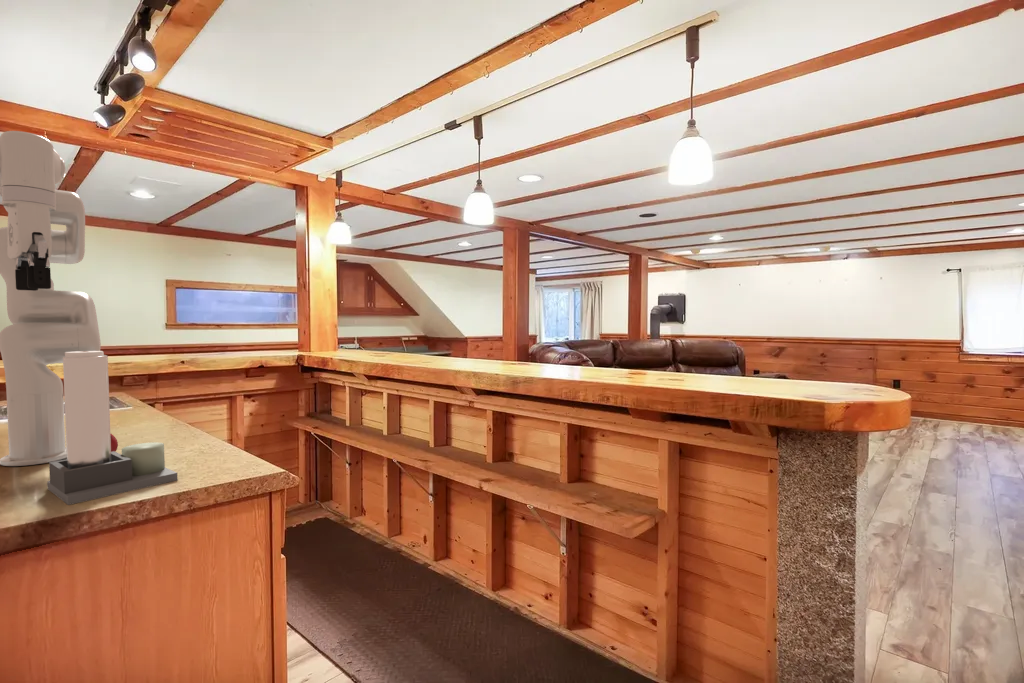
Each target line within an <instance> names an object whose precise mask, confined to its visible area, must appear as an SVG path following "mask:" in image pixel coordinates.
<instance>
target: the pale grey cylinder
mask: <svg viewBox="0 0 1024 683" xmlns="http://www.w3.org/2000/svg"><path fill="white" fill-rule="evenodd" d="M62 366H63V367H62V368H63V398H64V424H65V447H66V450H67V458H66V459H67V468H68V469H69V470H70V469H75V468H81V467H86V466H92V465H97V464H102V463H108V462H111V437H110V433H111V417H110V415H111V413H110V383H109V381H110V380H109V355H106V354H104V351H103V350H100V351H75V352H65V357H63V363H62Z"/></svg>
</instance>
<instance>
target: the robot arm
mask: <svg viewBox="0 0 1024 683" xmlns="http://www.w3.org/2000/svg"><path fill="white" fill-rule="evenodd" d="M65 176H66V163H65V160H64V158H62V157H61V155H60V154H59V153H58V152H57V151H56V150H55V149H54V146H53V143H52V142H51V141H50V140H49V139H48V138H46V137H44V136H42V135H40V134H39V135H38V134H35V133H31V132H27V131H21V130H20V131H19V130H7V131H4V132H2V133H1V134H0V197H1V201H2V202H1V203H2V204H1V205H2V206H3V208H4V209H5V211H6V212H7V226H4V227H0V276H1V277H2V279H3V280H4V282H5V285H6V311H7V317H8V320H9V322H10V323H11V324H9V325H8V326H6V327H4V328H3V329H2V330H1V331H0V356H1V359H2V364H3V369H4V379H5V388H6V389H5V390H6V392H5V393H6V410H7V411H6V412H7V434H8V453H9V454H8V455H7V454H6V455H5V456H3V457H0V466H4V467H5V466H6V467H22V466H33V465H40V464H46V463H48V464H49V462H54V461H60V460H66V459H67V450H66V424H65V398H64V382H63V380H62V379H61V378H60V376H59V375H58V374H57V373H55V372H54V371H53V370H51V369H50V368H49V367H48V366H47V365H52V364H63V357H65V352H75V351H101V348H102V347H101V337H100V336H101V335H100V329H99V322H98V316H97V309H96V305H95V302H94V300H93V297H91V295H89V294H88V293H86V292H83V291H75V290H55V288H54V286H55V285H54V281H53V280H52V276H51V267H50V265H51V264H60V265H61V264H64V265H73V264H75V265H76V264H79V263H80V262H82V260H83V259H84V256H85V251H86V238H85V237H86V212H85V205H84V202H83V199H82V198H81V197H80V196H79V194H77V193H75V192H73V191H68V190H62V189H61V190H60V189H56V184H58V183H60V182H61V181H62V180H63V179H64V178H65ZM52 225H58V226H59V225H60V226H65V227H66V228H65V230H60V229H59V230H58V229H52Z"/></svg>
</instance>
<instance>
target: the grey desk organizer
mask: <svg viewBox="0 0 1024 683" xmlns="http://www.w3.org/2000/svg"><path fill="white" fill-rule="evenodd" d="M165 463H166V462H165V443H163V442H157V441H156V442H142V443H135V444H131V445H126V446H124V447H122V448H121V453H120V452H116V451H113V452H111V462H108V463H102V464H97V465H92V466H86V467H81V468H75V469H70V470H69V469H68V468H67V458H65V459H61V460H57V461H53V462H48V465H49V466H48V467H49V468H48V469H49V480H47V485H46V486H47V490H48V491H49V492H51V493H52V494H54V495H55V496H56V497H57V498H58V499H60V500H61V501H63V502H64V503H65V504H66V505H68V506H70V505H75V504H78V503H83V502H87V501H91V500H95V499H97V500H98V499H101V498H104V497H109V496H113V495H118V494H122V493H127V492H131V491H136V490H141V489H144V488H149V487H153V486H158V485H162V484H167V483H170V482H175V481H178V472H176V471H174V470H172V469H169V468H167V467H166V466H165V465H166V464H165Z"/></svg>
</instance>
